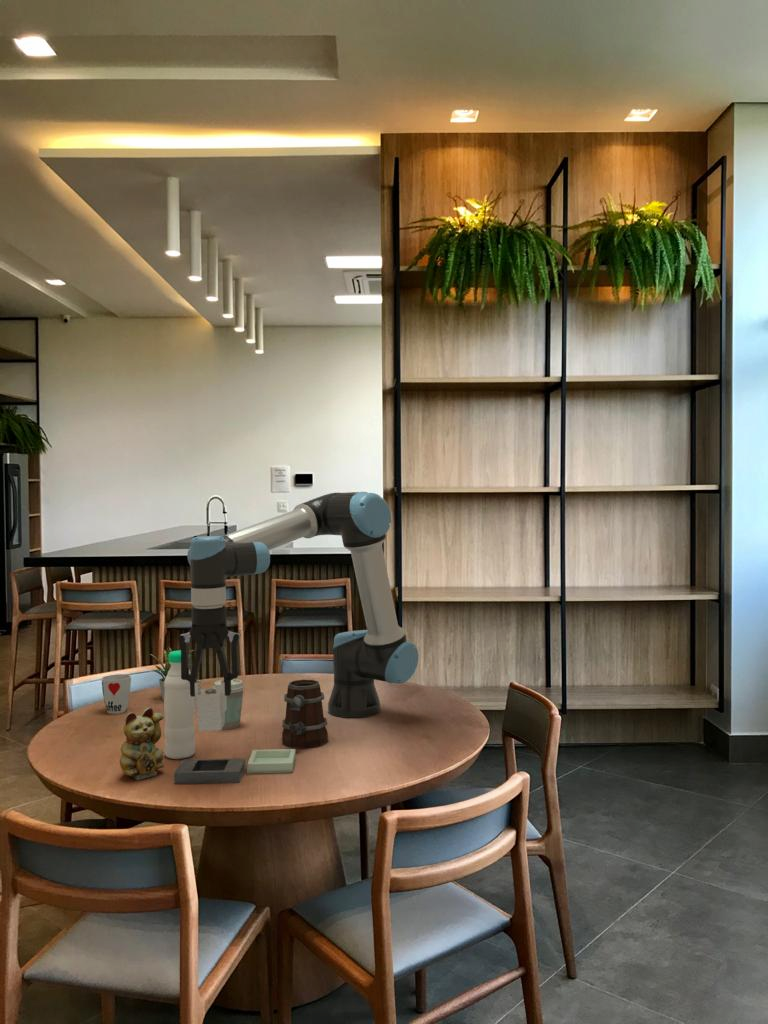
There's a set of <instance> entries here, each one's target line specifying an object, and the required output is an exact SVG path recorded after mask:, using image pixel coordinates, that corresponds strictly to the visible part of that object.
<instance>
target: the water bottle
mask: <svg viewBox="0 0 768 1024" xmlns="http://www.w3.org/2000/svg"><path fill="white" fill-rule="evenodd" d="M168 654H169V663H170V664H171V667H170V669H169V671H168V674H167V676H166V678H165V677H164V678H165V681H164V687H165V695H164V701H163V705H164V706H163V708H164V709H163V710H164V711H163V712H164V713H163V714H164V715H163V716H164V724H165V727H164V740H165V742H164V757H166V758H168V759H172V760H183V759H189V758H190V757H192V756H193V755H194V754H195V752H196V743H195V734H196V733H195V696H194V697H191V695H190V682H189V681H187V680H182V679H181V651H180V650H172V652H170V651H169V652H168ZM189 674H191V670H190V669H189Z"/></svg>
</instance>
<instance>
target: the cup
mask: <svg viewBox="0 0 768 1024" xmlns="http://www.w3.org/2000/svg"><path fill="white" fill-rule="evenodd" d="M131 682H132V675H130V674H123V673H122V674H121V673H120V674H119V673H118V674H109V675H105V676H103V677H101V686H102V687H101V688H102V689H101V690H102V697H103V702H104V706H105V709H106V712H107V713H108V714H113V715H117V714H124V713H125V712H126V711H127V708H128V705H129V702H130V695H131V688H132V687H131V684H132V683H131Z"/></svg>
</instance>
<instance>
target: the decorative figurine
mask: <svg viewBox="0 0 768 1024" xmlns="http://www.w3.org/2000/svg"><path fill="white" fill-rule="evenodd" d="M163 719H165V715H163V714H162V713H160V712H155V713H154V710H153V708H151V707H147V708H145V709H144V710H143V712H142V713H141V714H140V715H137V714H136V713H134V712H129V713H127V715H126V717H125V721H124V724H123V734H124V735H125V738H126V740H125V741H124V742H123V743H122V745H121V747H120V752H121V755H120V758H119V766H120V768H121V771H122V773H123V774H124V775H127V776H129V777H132V779H135V780H136V781H139V780H145V779H147V778H151V777H155V776H157V775H158V771H157V770H159V769H162V768H164V767H165V763H164V762H163V759H164V757H165V753H164V751H163V750H162V749H161V748H159V747H156V744H157V743H158V742H159V740H160V739H161V737H162V727H161V724H160V721H162V720H163Z"/></svg>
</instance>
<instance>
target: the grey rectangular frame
mask: <svg viewBox="0 0 768 1024" xmlns="http://www.w3.org/2000/svg"><path fill="white" fill-rule="evenodd" d="M245 770H246V758H245V757H239V758H237V757H234V758H233V757H232V758H231V757H230V758H192V759H191V758H184V759H181V762H180V764H179V765H178V767H177V769H175V771H174V773H173V774H174V777H173V779H174V785H183V784H184V785H187V784H189V785H191V784H233V783H234V784H235V783H237V784H238V783H239V784H240V783H241V780H242V777H243V775H244V773H245Z"/></svg>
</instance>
